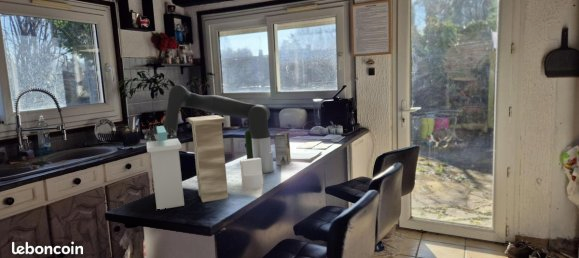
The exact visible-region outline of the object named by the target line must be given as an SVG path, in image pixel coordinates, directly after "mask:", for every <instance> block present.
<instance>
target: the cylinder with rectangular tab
mask: <svg viewBox="0 0 579 258" xmlns="http://www.w3.org/2000/svg"><path fill="white" fill-rule="evenodd" d="M239 163H240V175H241V186H242V189H243V190H258V189H261V188H263V186H264V181H263V178H264V177H263V173H262V165H261V158H252V159H247V158H246V159H240V160H239Z"/></svg>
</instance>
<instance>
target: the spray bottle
mask: <svg viewBox="0 0 579 258" xmlns="http://www.w3.org/2000/svg"><path fill="white" fill-rule="evenodd" d="M246 125H247V127H248V129H246V130H245V131H244V137H245V139H244V140H245V149H246V151H245V152H246V159H252V158H253V149H252V137H251V133H250V128H249V118H246Z"/></svg>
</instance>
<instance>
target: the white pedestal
mask: <svg viewBox="0 0 579 258" xmlns="http://www.w3.org/2000/svg"><path fill="white" fill-rule="evenodd" d="M182 148H183V147H182V143H181V142H180V140H179V138H175V139H168V140H164V141H151V140H150V141H146V151H147V153H149V154H151V158H150V162H151V170H152V171H151V172H152V178H153V186H154V187H153V188H154V189H153V190H154V197H155V204H156V210H157V209H160V210H164V209H165V208H166V209H171V208H178V207H182V206H185V199H184V190H183V180H182V171H181V159H180V153H179V150H180V149H182Z"/></svg>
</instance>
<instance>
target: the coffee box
mask: <svg viewBox="0 0 579 258" xmlns="http://www.w3.org/2000/svg"><path fill="white" fill-rule="evenodd" d="M273 139H274V153H275V164H276V166H286V165H287V166H288V165H289V164H290V163H291V161H292V159H291V157H292V156H291V145H290V133H289V132H278V133H275V134H274V136H273Z"/></svg>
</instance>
